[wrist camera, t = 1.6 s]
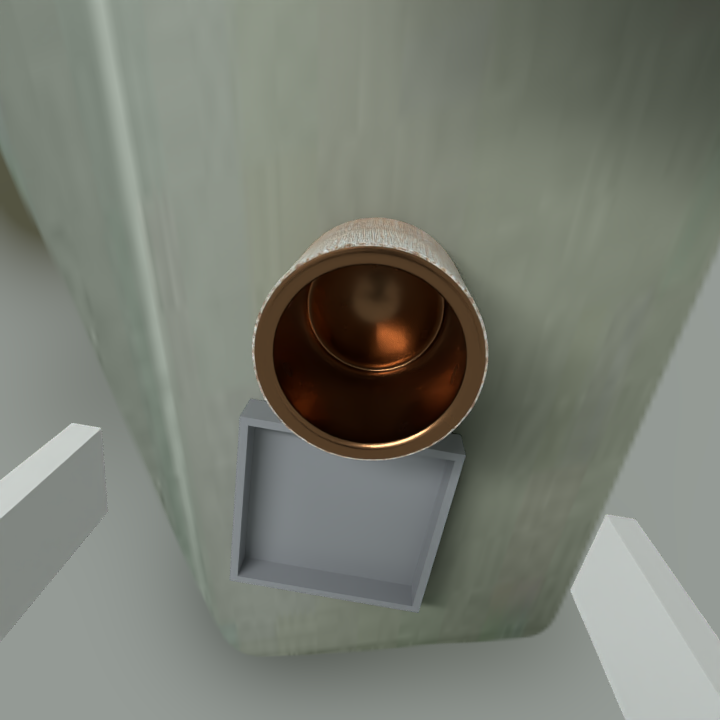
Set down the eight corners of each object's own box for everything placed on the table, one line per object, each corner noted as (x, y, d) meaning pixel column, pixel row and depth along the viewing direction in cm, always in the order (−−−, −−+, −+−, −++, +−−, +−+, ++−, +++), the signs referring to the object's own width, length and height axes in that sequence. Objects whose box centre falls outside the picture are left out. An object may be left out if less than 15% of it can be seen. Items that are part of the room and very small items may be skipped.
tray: (250, 398, 33) (239, 416, 30) (460, 434, 33) (465, 455, 30) (239, 555, 39) (229, 580, 36) (416, 586, 39) (418, 612, 36)
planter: (468, 370, 31) (497, 452, 22) (310, 389, 32) (279, 473, 23) (453, 201, 27) (483, 219, 18) (274, 231, 28) (220, 262, 19)
